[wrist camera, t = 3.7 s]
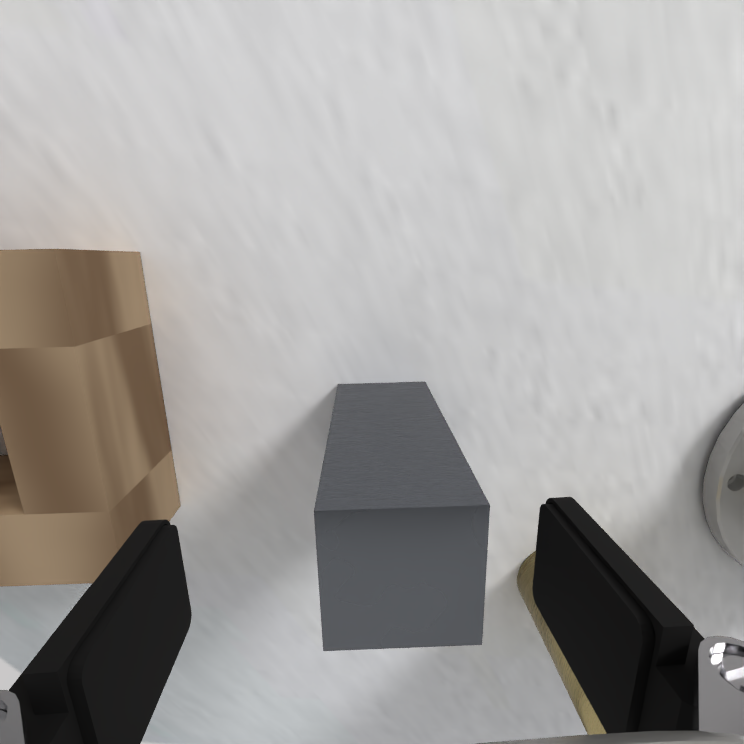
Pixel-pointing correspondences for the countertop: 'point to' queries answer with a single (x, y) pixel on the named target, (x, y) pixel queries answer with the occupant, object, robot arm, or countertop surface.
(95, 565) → the bore block
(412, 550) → the square bit
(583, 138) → the countertop surface
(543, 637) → the round bit
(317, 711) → the countertop surface
